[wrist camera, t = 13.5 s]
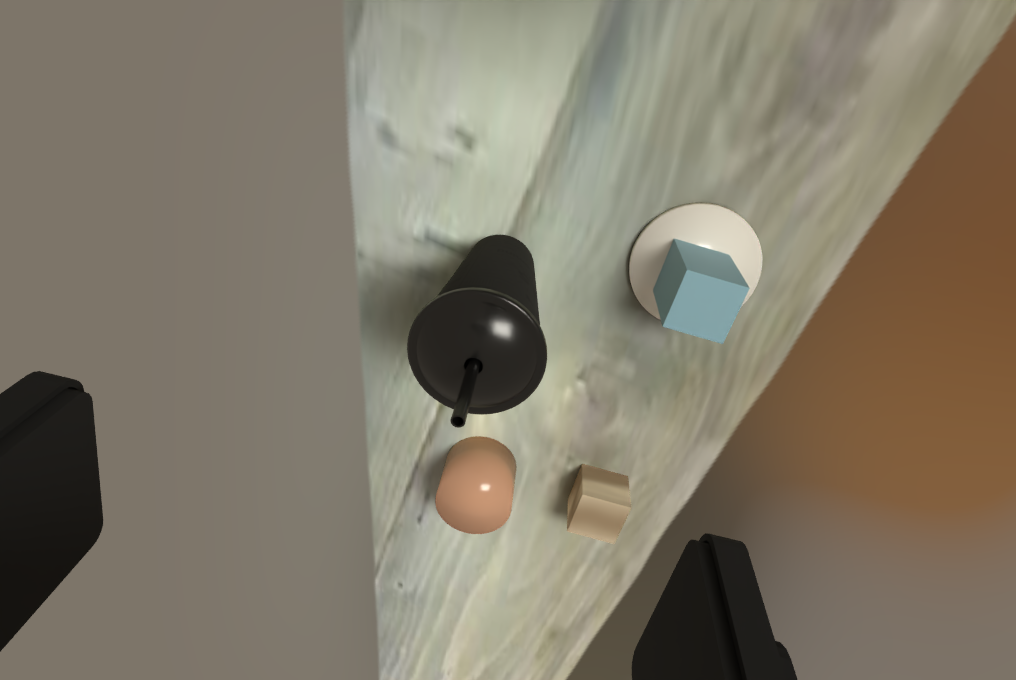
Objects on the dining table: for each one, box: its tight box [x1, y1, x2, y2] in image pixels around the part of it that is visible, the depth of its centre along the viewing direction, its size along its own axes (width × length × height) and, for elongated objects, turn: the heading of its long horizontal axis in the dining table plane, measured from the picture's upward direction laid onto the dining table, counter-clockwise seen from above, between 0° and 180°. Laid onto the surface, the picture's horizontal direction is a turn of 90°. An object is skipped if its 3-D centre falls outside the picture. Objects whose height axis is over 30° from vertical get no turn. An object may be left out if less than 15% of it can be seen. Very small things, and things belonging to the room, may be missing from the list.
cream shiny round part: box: [629, 202, 762, 320], centre depth 46 cm, size 9×9×1 cm
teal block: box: [653, 238, 750, 344], centre depth 44 cm, size 4×4×6 cm
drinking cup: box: [407, 235, 547, 427], centre depth 39 cm, size 8×8×20 cm
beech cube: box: [567, 464, 631, 544], centre depth 55 cm, size 4×4×4 cm
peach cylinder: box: [435, 437, 516, 534], centre depth 54 cm, size 6×6×5 cm
